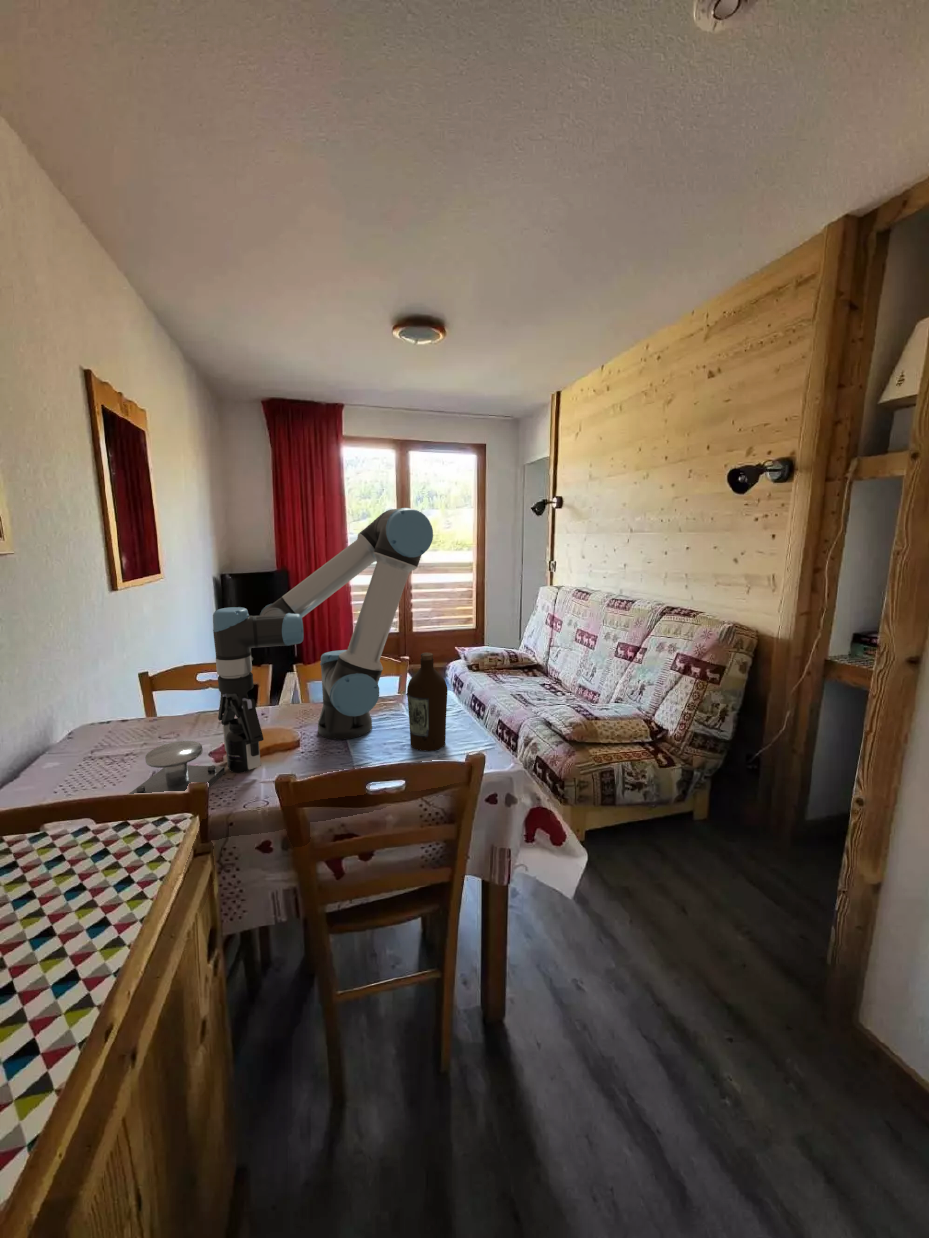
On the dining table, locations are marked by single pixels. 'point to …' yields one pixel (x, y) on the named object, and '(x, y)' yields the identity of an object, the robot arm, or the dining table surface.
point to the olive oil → (427, 707)
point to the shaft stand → (177, 768)
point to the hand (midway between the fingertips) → (242, 758)
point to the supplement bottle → (236, 747)
